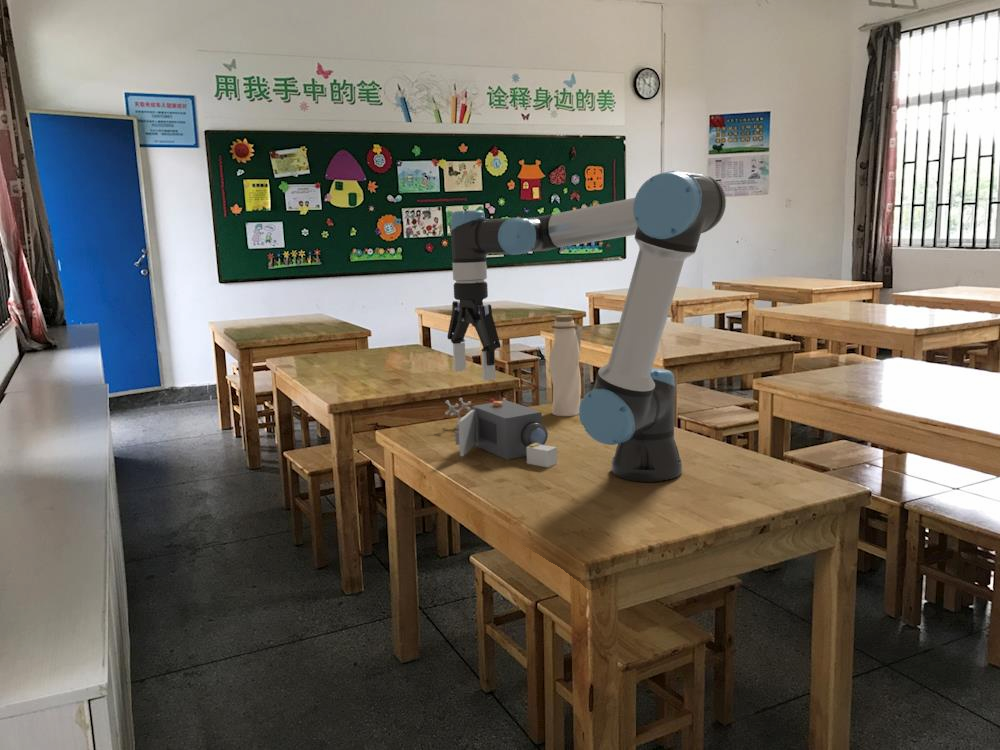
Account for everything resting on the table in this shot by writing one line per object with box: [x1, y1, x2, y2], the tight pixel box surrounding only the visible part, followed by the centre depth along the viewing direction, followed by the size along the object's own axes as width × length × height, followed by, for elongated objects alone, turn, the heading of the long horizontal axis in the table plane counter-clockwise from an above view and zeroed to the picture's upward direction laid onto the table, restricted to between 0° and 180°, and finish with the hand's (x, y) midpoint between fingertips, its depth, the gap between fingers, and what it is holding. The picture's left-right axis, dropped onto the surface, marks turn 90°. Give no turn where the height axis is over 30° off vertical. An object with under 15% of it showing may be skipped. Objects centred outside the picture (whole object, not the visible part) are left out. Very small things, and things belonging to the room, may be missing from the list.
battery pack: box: [526, 443, 558, 468], centre depth 187 cm, size 6×4×4 cm, turn 51°
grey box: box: [471, 399, 549, 461], centre depth 198 cm, size 19×10×11 cm, turn 31°
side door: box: [454, 408, 477, 457], centre depth 196 cm, size 12×2×8 cm, turn 166°
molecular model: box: [444, 397, 507, 430], centre depth 216 cm, size 19×10×10 cm, turn 40°
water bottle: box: [548, 314, 582, 417], centre depth 231 cm, size 10×9×28 cm
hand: (474, 375), depth 185 cm, fingers open, 13 cm apart
